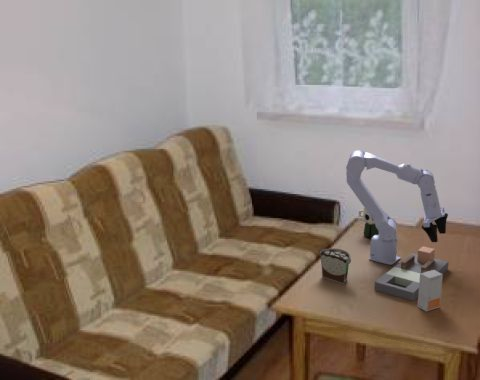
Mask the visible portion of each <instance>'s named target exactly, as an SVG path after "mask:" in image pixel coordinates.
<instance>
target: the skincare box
mask: <svg viewBox="0 0 480 380" xmlns="http://www.w3.org/2000/svg"><path fill="white" fill-rule="evenodd" d="M443 276H444V273H443V274H441V273H439V272H437V271H435V270H431V271H427V272H424V273H421V274H420V281H419V294H418V297H417V308H419V309H421V310H422V311H425V312H429V311H432V310H436V309H440V308H441V301H442V300H441V299H442V298H441V296H442V290H443V289H442V288H443Z"/></svg>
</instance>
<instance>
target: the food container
mask: <svg viewBox="0 0 480 380" xmlns="http://www.w3.org/2000/svg"><path fill="white" fill-rule="evenodd" d="M318 256H320V264H321V277H322V278H325V279H327V280H330V281H334V282H336V283H338V284H339V283H340V284H343V285H345V284H347V282H348V276H349V275H348V274H349V265H350V264H351V262H352V259H351V254H350V253H349V252H348V251H346V250H344V249H341V248H325V249H321V250H320V252H319V255H318Z"/></svg>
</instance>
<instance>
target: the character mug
mask: <svg viewBox="0 0 480 380" xmlns="http://www.w3.org/2000/svg"><path fill="white" fill-rule="evenodd" d="M380 207H381V205H380ZM381 208H382V207H381ZM362 213H363V214H362ZM358 217H359V218H362V219H363V221H364V222H365V224H364V228H363V236H364V237H367V238H371V239H372V237H373V236H374V235H379V231H378V229H377V228H376V225H375V223H374V220H373V219H372V217H371V216H370V215H369V213H368V212H367V210H366V209H365V207H364V206H363V208H362V209H359V210H358Z"/></svg>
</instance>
